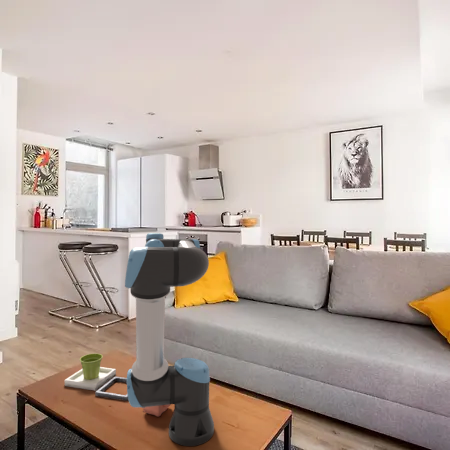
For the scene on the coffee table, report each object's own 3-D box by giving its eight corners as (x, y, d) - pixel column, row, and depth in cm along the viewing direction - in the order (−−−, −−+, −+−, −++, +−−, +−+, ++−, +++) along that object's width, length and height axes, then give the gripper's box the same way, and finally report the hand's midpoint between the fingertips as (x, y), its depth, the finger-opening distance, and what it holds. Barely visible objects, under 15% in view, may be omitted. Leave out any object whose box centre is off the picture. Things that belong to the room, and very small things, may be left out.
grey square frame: (126, 400, 128) (126, 397, 128) (95, 395, 132) (95, 392, 132) (143, 383, 142) (143, 380, 142) (115, 379, 145) (115, 376, 145)
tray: (95, 390, 136) (95, 384, 136) (64, 385, 140) (64, 379, 140) (115, 374, 150) (115, 369, 150) (87, 370, 154) (87, 365, 154)
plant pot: (94, 383, 140) (94, 363, 140) (74, 380, 142) (75, 360, 142) (106, 373, 149) (106, 354, 149) (88, 371, 151) (88, 352, 151)
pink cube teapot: (148, 401, 128) (149, 380, 128) (175, 409, 123) (175, 387, 123) (136, 412, 121) (136, 390, 121) (163, 420, 116) (163, 397, 116)
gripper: (159, 264, 157) (158, 308, 157) (132, 271, 133) (131, 324, 133) (173, 265, 155) (173, 309, 155) (149, 272, 131) (148, 325, 131)
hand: (153, 316), depth 144 cm, fingers open, 13 cm apart
